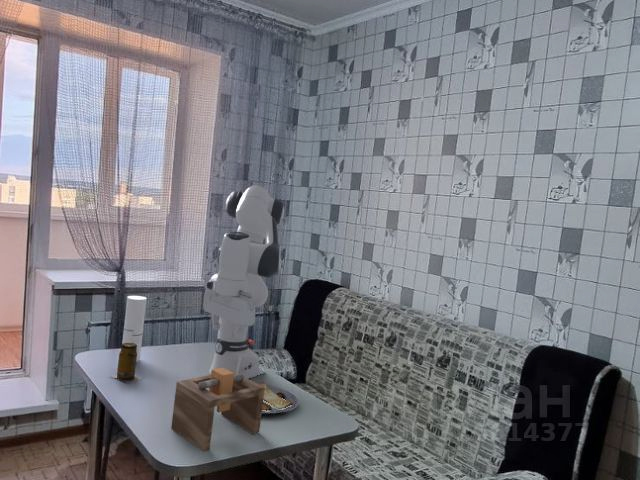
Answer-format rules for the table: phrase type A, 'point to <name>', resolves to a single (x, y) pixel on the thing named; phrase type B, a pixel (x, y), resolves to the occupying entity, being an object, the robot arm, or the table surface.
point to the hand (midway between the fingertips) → (225, 333)
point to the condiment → (127, 363)
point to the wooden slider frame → (199, 406)
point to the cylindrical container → (134, 321)
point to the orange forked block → (222, 385)
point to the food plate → (278, 399)
